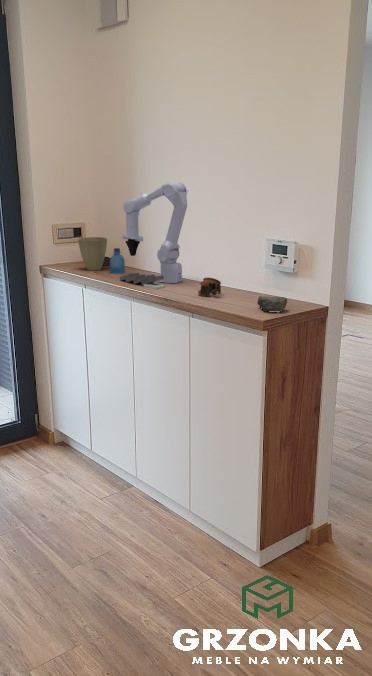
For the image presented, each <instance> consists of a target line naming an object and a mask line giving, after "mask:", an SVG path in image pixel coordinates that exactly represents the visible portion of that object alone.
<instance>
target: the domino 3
mask: <svg viewBox="0 0 372 676" xmlns="http://www.w3.org/2000/svg"><path fill="white" fill-rule="evenodd" d="M153 277H156V275H155V274H149V275H145V276H144V277H141V278H139V279H136V280H133V282H132V283H133V285H136V284H137V285H138V284H142V283H141V281H144V280H147V279H150V278H153Z"/></svg>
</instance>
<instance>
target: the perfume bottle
mask: <svg viewBox="0 0 372 676" xmlns="http://www.w3.org/2000/svg"><path fill="white" fill-rule="evenodd" d="M125 260H126V259H125V258H124V256H123V255H122V254H121V249H120V248H118V247H117V248H116V247H115V248H113V255H112V256H111V258H110V260H109V274H110V275H111V274H113V275H114V274H115V275H116V274H117V275H119V274H121V275H122V274H124V273H125V268H126V267H125V264H126V263H125Z"/></svg>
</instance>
